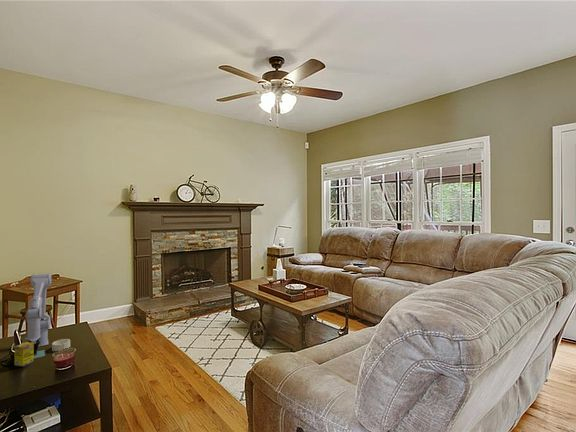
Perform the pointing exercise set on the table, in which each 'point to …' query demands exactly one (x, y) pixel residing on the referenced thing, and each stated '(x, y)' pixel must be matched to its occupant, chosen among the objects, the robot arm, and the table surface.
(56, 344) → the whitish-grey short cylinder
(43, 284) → the robot arm
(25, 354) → the supplement box
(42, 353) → the lid
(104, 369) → the table surface
